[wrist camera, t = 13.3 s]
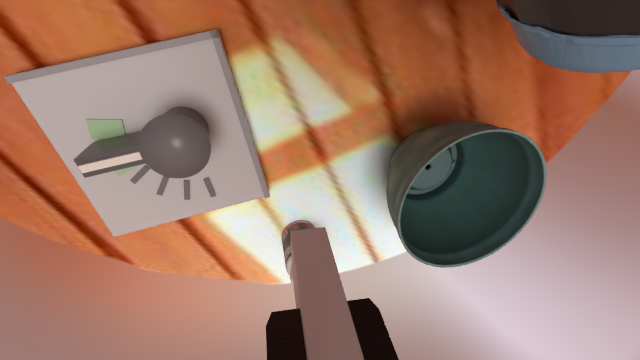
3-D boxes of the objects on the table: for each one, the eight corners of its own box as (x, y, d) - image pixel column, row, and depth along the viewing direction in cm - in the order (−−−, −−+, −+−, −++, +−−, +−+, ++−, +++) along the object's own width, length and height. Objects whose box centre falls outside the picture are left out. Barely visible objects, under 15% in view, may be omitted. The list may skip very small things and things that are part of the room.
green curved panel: (81, 120, 30) (79, 120, 30) (175, 97, 31) (174, 98, 30) (137, 215, 35) (137, 217, 35) (216, 195, 36) (216, 196, 36)
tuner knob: (203, 94, 31) (196, 108, 26) (222, 148, 34) (219, 169, 29) (83, 121, 30) (55, 140, 25) (113, 174, 33) (93, 200, 28)
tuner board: (17, 72, 28) (3, 76, 27) (218, 28, 30) (216, 29, 28) (118, 228, 37) (112, 239, 36) (268, 188, 39) (269, 196, 37)
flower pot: (382, 90, 36) (430, 120, 27) (500, 108, 40) (577, 139, 31) (351, 211, 43) (380, 268, 34) (454, 215, 47) (505, 267, 38)
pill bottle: (322, 236, 44) (337, 280, 37) (294, 253, 44) (303, 301, 37) (304, 213, 42) (316, 256, 34) (274, 232, 42) (280, 279, 35)
